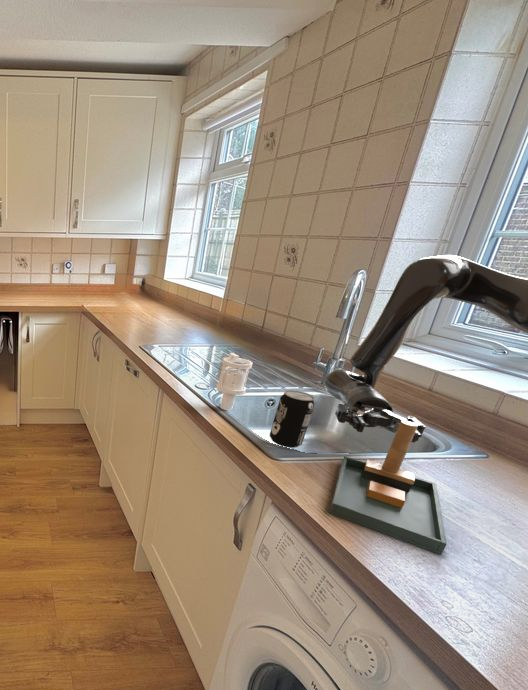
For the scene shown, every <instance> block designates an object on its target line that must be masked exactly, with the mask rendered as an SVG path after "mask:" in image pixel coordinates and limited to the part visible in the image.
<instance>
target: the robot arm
mask: <svg viewBox="0 0 528 690" xmlns="http://www.w3.org/2000/svg"><path fill="white" fill-rule="evenodd" d="M444 298H445V299H450V300H453V301H459V302H462V303H466V304H470V305H472V306H477V307H479V308H482V309H484V310H486V311H488V312H490V313H491V314H492V315H495V316H496V317H497V318H499V319H501V320H502V321H504V322H505V323H507V325H510V326H511V327H513V328H514V329H516V330H519V331H520V332H523V333H525V334H527V335H528V278H525V277H521V276H520V277H519V276H515V275H512V274H507V273H505V272H501V271H499V270H496V269H494V268H491V267H487V266H485V265H482V264H480V263H477V262H475V261H472V260H470V259H467V258H465V257H461V256H458V255H452V254H444V255H436V256H429V257H427V256H426V257H423V258H420V259H417V260H415V261H413V262H411V263H410V264H409V265H408V266H407V267H405V269H404V270H403V272H402V273H401V275H400V277H399V278H398V280H397V282H396V284H395V286H394V289H393V291H392V293H391V295H390V297H389V299H388V300H387V302H386V304H385V305H384V307H383V310H382V312H381V314H379V317H378V319H377V320H376V322H375V323H374V325H373V327H372V328H371V330H370V331H369V333H368V334H367V336H366V337H365V338H364V339H363V341H362V342H361V343H360V344H359V346H358V347H357V349H356V350H355V352H354V353H353V354H352V355H351V357H350V361H349V362H350V364H351V366H352V367H354V369H356V370H358V371H360V372H362V373H363V374H360V373H357V372H354V371H349V370H347V369H343V368H339V369H334V370H332V371H330V372H329V373H328V374H327V375H326V377H325V379H324V387H325V390H326V391H327V393H328V394H329V395H331V396H332V397H333V398H335V399H337V400H339V401H341V402H342V403H338V404H337V408H336V410H335V417H336V419H337V421H338V422H339V423H341V424H345V423H348V425H349V426H351V427H352V428H353V429H354V430H356V432H358V433H363V432H364V430H365V428H380V429H384V430H387V431H389V432H391V433H393V434H394V433H395V434H396V432H397V430H398V427H399V425H400V422H401V421H410V422H413V423H416V424H417V425H418V427H417V430H416V432H415V434H414V436H413V439H412V441H411V443H413V444H415V443H416V442H418V441H419V439H420V438H422V436H423V434H424V431H425V429H426V428H427V426H426V425H425V424H423V422H421V421H420V420H419V419H417V417H415V416H413V415H408V416H406V418H405V417H402V416H400V415H398V414H396V413H394V410H393V407H392V405H391V403H390V402H389V401H388V400H387V399H386V398H385V397H384V396H383V395H382V394H381V393H380V392H379V391H377V390H376V389H375V388H376V386H377V383H378V380H379V378H380V375H381V373H382V371H383V370H384V369H385V367H386V366H387V364H389V362H390V361H391V360H392V358H393V357H395V355H396V353H398V351H399V349H400V348H401V346H402V344H403V342H404V340H405V339H406V338H405V337H406V335H407V332H408V329H409V327H410V325H411V324H412V322H413V320H414V319H415V318H416V317H417V316H418V314H419V313H420V312H421V311H422V310H423V309H424V308H425V307H426V306H427V305H428V304H430V302H432V301H433V300H435V299H444Z"/></svg>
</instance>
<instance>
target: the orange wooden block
mask: <svg viewBox="0 0 528 690" xmlns="http://www.w3.org/2000/svg"><path fill="white" fill-rule="evenodd" d="M366 496H368V497H371V498H373V499H376V500H379V501H382V502H385V503H388V504H391V505H394V506H397V507H400V508H402V507H403V505H404V503H405V492H404V491H401V490H398V489H395V488H392V487H389V486H386V485H382V484H379V483H376V482H373V481H370V482H369V484H368V487H367V495H366Z"/></svg>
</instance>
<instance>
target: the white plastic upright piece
mask: <svg viewBox="0 0 528 690" xmlns="http://www.w3.org/2000/svg"><path fill="white" fill-rule="evenodd" d="M221 364H222V367H221V371H220V374H219V375H220V376H219V380H218V381H217V383H216V389H217V390H218V391H220V392H222V397H221V401H220V406H219V408H220V409H221V410H224V411H229V412H231V411H232V410H233V407H234V404H235V401H236V397H237V396H242V395H245V394H246V390H247V388H246V385H247V381H248V377H249V373H250V370H251V369H252V368H253V364H254V362H253V361H252V360H249V359H246V358H241V357H240V356H239V355H238V354H236V353H234V352H229V354H228V356H225V357H223V358H222V362H221ZM243 370H244V371H243Z"/></svg>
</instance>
